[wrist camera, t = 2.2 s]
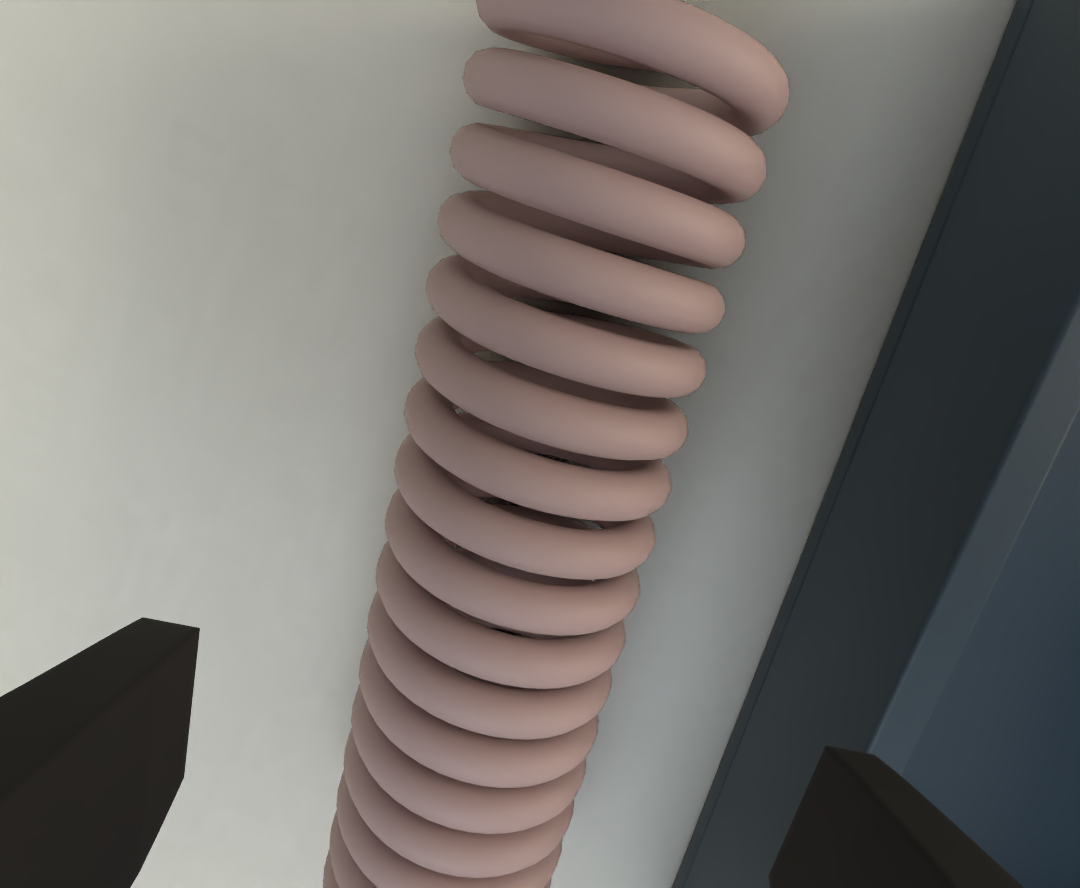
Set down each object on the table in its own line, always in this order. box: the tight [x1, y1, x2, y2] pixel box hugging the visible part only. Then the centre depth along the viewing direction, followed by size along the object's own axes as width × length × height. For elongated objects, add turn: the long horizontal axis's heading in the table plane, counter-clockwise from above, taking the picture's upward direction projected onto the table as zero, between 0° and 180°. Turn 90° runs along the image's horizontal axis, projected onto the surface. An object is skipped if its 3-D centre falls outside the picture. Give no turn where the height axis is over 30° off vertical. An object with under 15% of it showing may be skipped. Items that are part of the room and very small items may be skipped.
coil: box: [323, 0, 789, 888], centre depth 14 cm, size 5×5×18 cm
